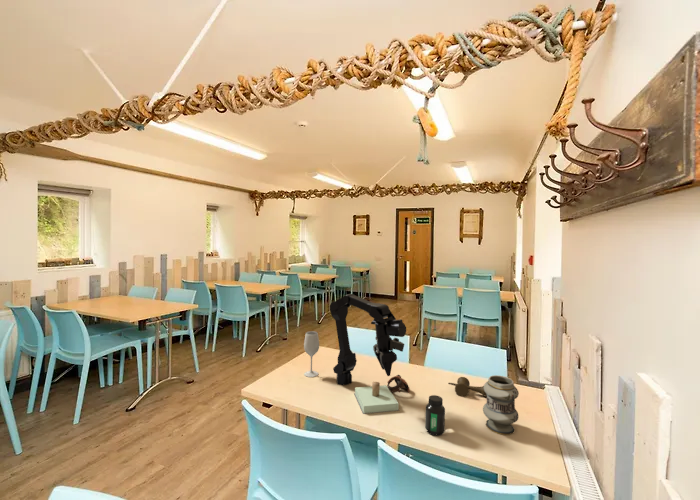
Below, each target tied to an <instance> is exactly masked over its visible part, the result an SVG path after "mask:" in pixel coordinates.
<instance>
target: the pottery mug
mask: <svg viewBox="0 0 700 500" xmlns="http://www.w3.org/2000/svg"><path fill="white" fill-rule="evenodd" d="M393 381H394V383H395V384H396V385H394V386H390V384H391V383H392V382H393ZM386 386H387V387H388V389H389V390H390V392H391V393H392V394H393V393H401V390H400V389H406V390H407V393H408V394H410V388H409V384H408V382H407V381H406V380H405V379H404V378H402V376H401V375H400V374H397V375H395V376H392V377H390V378H389V379H388V380H387V385H386Z"/></svg>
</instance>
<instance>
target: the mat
mask: <svg viewBox="0 0 700 500" xmlns="http://www.w3.org/2000/svg"><path fill="white" fill-rule="evenodd" d="M353 394H354V397H355V399H356V402H357V404H358V406H359V408H360V410H361V413H362V415H366V414H370V413H363V411H362V408H361V406H360V404H359V402H358V400H357V397H356V395H355V392H354V393H353ZM389 412H391V413H392V411H384V412H383V413H389ZM394 412H400V409H399V408H398V410H395V411H394ZM378 413H381V412H372V413H371V414H378Z"/></svg>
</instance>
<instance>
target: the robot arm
mask: <svg viewBox="0 0 700 500" xmlns="http://www.w3.org/2000/svg"><path fill="white" fill-rule="evenodd" d="M350 306H354V307H355V308H357V309H360V310H362V311H364V312H366V313H367V314H368V315H369V316H370V317H371V318H373V319H372V321H371V322H370V324H371V325H375V341H376V343H375V344H374V345H373V347H372V350H373V353H374V355H375V356H376V358H377V359H376V360H377V362H379V365H380V367H381V369H382V370H384V371H385V374H386V376H387V377H390V376H391V372H392V367H393V364H394V363H395V362H396V361H397V360H398V357H397V354H396V353H395V352H394V350H396V351H398V352H404V347H405V343H403V342H402V341H400V339H399V338H398V337H400V338H404V337H405V335H406V334H407V326H406V323H404V322H403V319H397V318H396V317H395V316H394V314H393V313H392V311H391V309H390V306H389V305H387V304H385V303H379V302H377V303H376V302H372V301H369V300H367V299H365V298H361V297H359V296H357V295H355V294H353V293H349V294H345V295H344V296H342V297H340V298H339V299H336V300H334V301H332V302H331V303H330V305H329V311H330V315H331V316H332V318H333V319H334V321H335V327H336V328H335V329H336V334H337V341H338V347H339V353H338V356H337V364H336V365H335V366H334V367H333V368H332V369H333V370H332V371H333V372H334V374H336V384H337V385H339V386H347V385H349V384H350V385H352V383H353V374H352V371H354V368H355V367H356V365H357V362H358V360H357V355H356V352H353V351H352V350H351V345H350V338H349V331H348V325H347V316H348V314H349V313H348V312H349V307H350ZM392 337H393V338H392Z"/></svg>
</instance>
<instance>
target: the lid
mask: <svg viewBox="0 0 700 500" xmlns="http://www.w3.org/2000/svg"><path fill="white" fill-rule="evenodd" d="M380 384H381V383H380V382H379V381H373V382H372V384H371V385H370V386H358V387H354V393H355V395H356V397H357V400H358V402H359V404H360V406H361V408H362V411H363V413H369V414H373V413H372V412H380V413H385V412H384V411H391V412H396V411H395V410H398V409H399V402H398V400H397V399H396V398H395V396H394V394H393V393H391V392H390V390H389V389H388V387H387V385H385V384H384V385H380ZM355 395H354V396H355ZM356 397H355V398H356ZM357 400H356V401H357ZM358 402H357V403H358ZM359 404H358V405H359ZM360 406H359V407H360ZM362 411H361V412H362ZM363 413H362V414H363Z"/></svg>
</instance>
